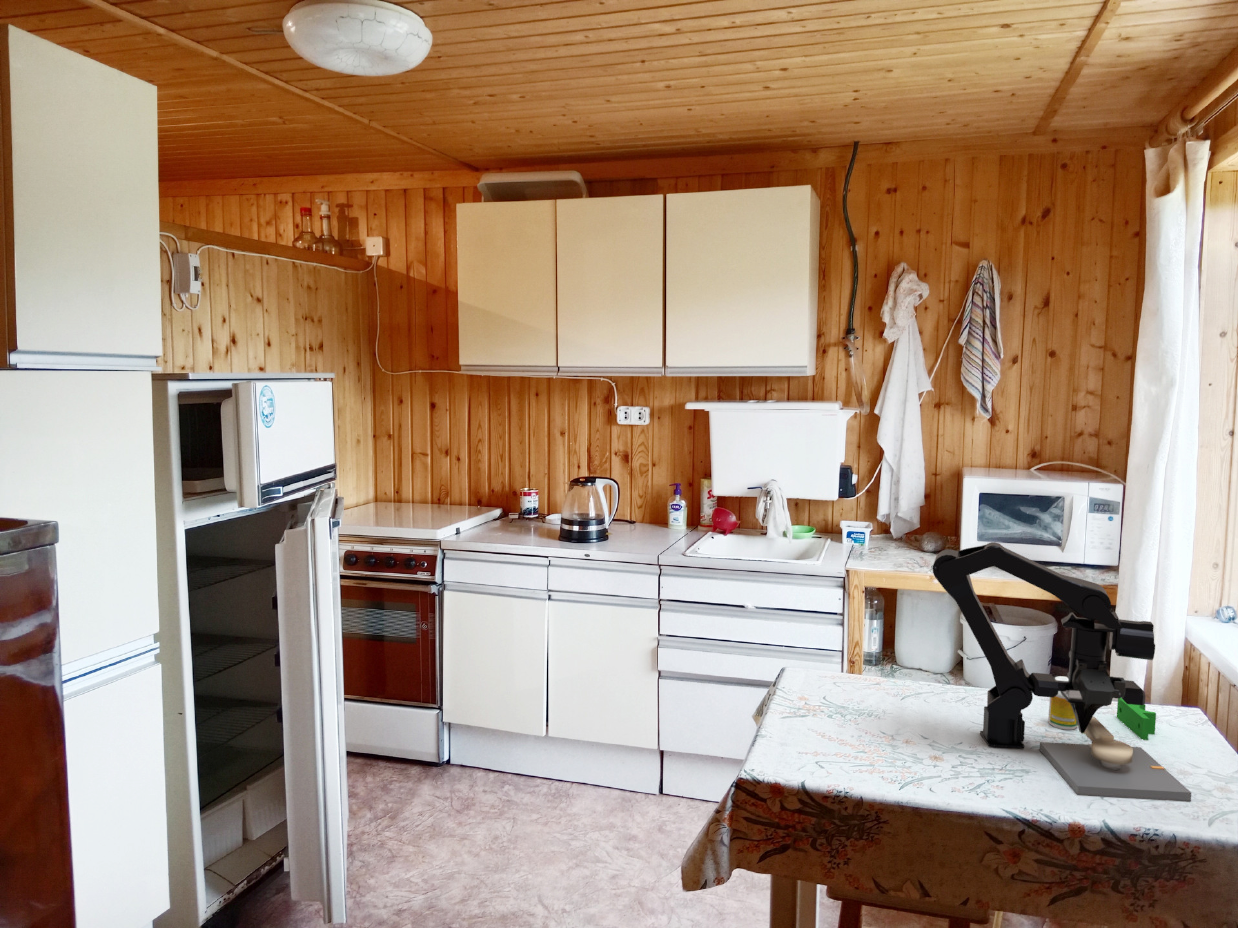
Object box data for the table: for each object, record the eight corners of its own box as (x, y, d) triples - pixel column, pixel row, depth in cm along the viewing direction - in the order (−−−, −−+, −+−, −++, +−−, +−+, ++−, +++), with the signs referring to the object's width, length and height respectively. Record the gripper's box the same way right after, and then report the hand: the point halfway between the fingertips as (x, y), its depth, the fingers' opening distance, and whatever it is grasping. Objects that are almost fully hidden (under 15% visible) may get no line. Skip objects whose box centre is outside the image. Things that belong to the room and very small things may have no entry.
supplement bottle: (1045, 718, 181) (1047, 673, 180) (1072, 720, 180) (1075, 675, 179) (1052, 729, 176) (1055, 682, 175) (1081, 731, 175) (1084, 684, 174)
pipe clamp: (1162, 741, 171) (1163, 719, 170) (1141, 740, 171) (1143, 718, 171) (1135, 718, 182) (1137, 697, 181) (1116, 717, 182) (1117, 696, 182)
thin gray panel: (1077, 794, 148) (1078, 777, 148) (1039, 749, 166) (1040, 734, 166) (1190, 800, 146) (1192, 783, 146) (1140, 754, 164) (1141, 739, 164)
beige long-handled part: (1138, 765, 152) (1139, 749, 152) (1099, 762, 153) (1100, 746, 153) (1105, 732, 166) (1107, 717, 166) (1070, 730, 167) (1071, 715, 167)
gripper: (1045, 661, 156) (1039, 745, 158) (1160, 670, 153) (1153, 756, 154) (1029, 642, 167) (1024, 721, 169) (1136, 650, 164) (1130, 731, 165)
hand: (1081, 732), depth 164 cm, fingers closed
